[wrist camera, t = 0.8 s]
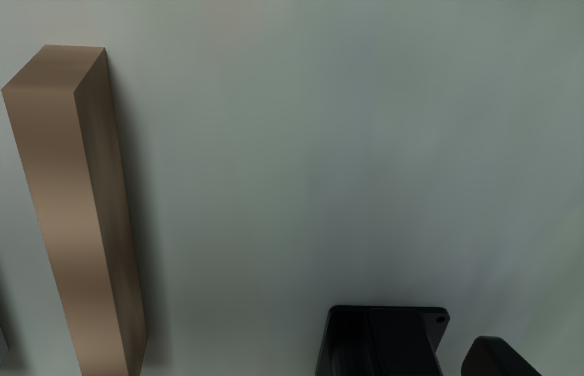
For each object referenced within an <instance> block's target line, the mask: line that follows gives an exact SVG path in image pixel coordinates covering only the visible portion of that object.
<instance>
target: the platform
mask: <svg viewBox="0 0 584 376" xmlns="http://www.w3.org/2000/svg"><path fill="white" fill-rule="evenodd" d="M8 350H9V349H8V346H7V343H6V340H5V338H4V335H3V332H2V329H1V326H0V366H1V364H2V362H3V360H4V358H5V356H6V354H7V352H8Z"/></svg>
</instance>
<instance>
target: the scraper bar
mask: <svg viewBox="0 0 584 376" xmlns="http://www.w3.org/2000/svg"><path fill="white" fill-rule="evenodd" d="M1 91H2V95H3V98H4V102H5V105H6V109H7V112H8V116H9V119H10V123H11V126H12V130H13V133H14V137H15V141H16V144H17V148H18V151H19V155H20V158H21V162H22V165H23V169H24V172H25V176H26V179H27V183H28V186H29V190H30V193H31V197H32V200H33V204H34V207H35V211H36V214H37V218H38V221H39V225H40V228H41V232H42V236H43V239H44V243H45V246H46V250H47V253H48V257H49V260H50V264H51V267H52V271H53V274H54V278H55V281H56V285H57V288H58V292H59V295H60V299H61V302H62V306H63V309H64V313H65V316H66V320H67V323H68V327H69V330H70V334H71V338H72V341H73V345H74V348H75V352H76V355H77V359H78V362H79V366H80V369H81V373H82V376H140V371H141V366H142V362H143V357H144V352H145V347H146V343H147V332H146V325H145V318H144V311H143V305H142V298H141V291H140V284H139V277H138V271H137V264H136V257H135V250H134V244H133V237H132V230H131V223H130V216H129V210H128V203H127V196H126V189H125V183H124V176H123V169H122V162H121V156H120V149H119V142H118V135H117V128H116V122H115V115H114V108H113V101H112V95H111V88H110V81H109V74H108V68H107V61H106V54H105V47H83V46H62V45H45V46H44V47H43V48H42V49H41V50H40V51H39V52H38V53H37V54H36V55H35V56H34V57H33V58H32V59H31V60H30V61H29V62H28V63H27V64H26V65H25V66H24V67H23V68H22V69H21V70H20V71H19V72H18V73H17V74H16V75H15V76H14V77H13V78H12V79H11V80H10V81H9V82H8V83H7V84H6V85H5V86H4V87H3V88H2V89H1Z"/></svg>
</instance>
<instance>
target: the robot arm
mask: <svg viewBox="0 0 584 376" xmlns="http://www.w3.org/2000/svg"><path fill="white" fill-rule="evenodd" d="M339 314H340V315H339ZM449 320H450V316H449V314H448V312H447V310H446V309H445V308H441V307H396V306H352V305H337V306H334V307H332V308H331V309H330V310H329V313H328V317H327V322H326V326H325V331H324V335H323V340H322V344H321V349H320V353H319V358H318V362H317V367H316V371H315V376H443V374H442V371H441V368H440V365H439V362H438V359H437V357H436V354H435V352H436V350H437V348H438V345H439V343H440V341H441V338H442V336H443V334H444V332H445V329H446V327H447V325H448V322H449ZM461 376H542V375H541V374H540V373H539V372H538V371H536V370H535V369H534V368H533V367H532V366H531V365H530V364H529V363H528V362H527V361H526V360H525V359H524V358H523V357H522V356H521V355H519V354H518V353H517V352H516V351H515V350H514V349H513V348H512V347H511V346H510V345H509V344H508V343H507V342H506V341H504V340H503V339H501V338H499V337H492V336H479V337H477V338H476V339H475V340H474V342H473V344H472V346H471V348H470V350H469V351H468V353H467V355H466V357H465V359H464V361H463V363H462V367H461Z"/></svg>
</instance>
